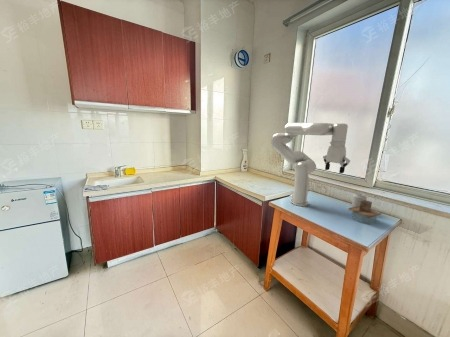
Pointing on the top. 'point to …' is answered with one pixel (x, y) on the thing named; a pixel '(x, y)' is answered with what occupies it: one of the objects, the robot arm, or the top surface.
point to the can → (358, 199)
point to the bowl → (363, 218)
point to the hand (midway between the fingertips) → (334, 171)
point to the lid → (365, 209)
